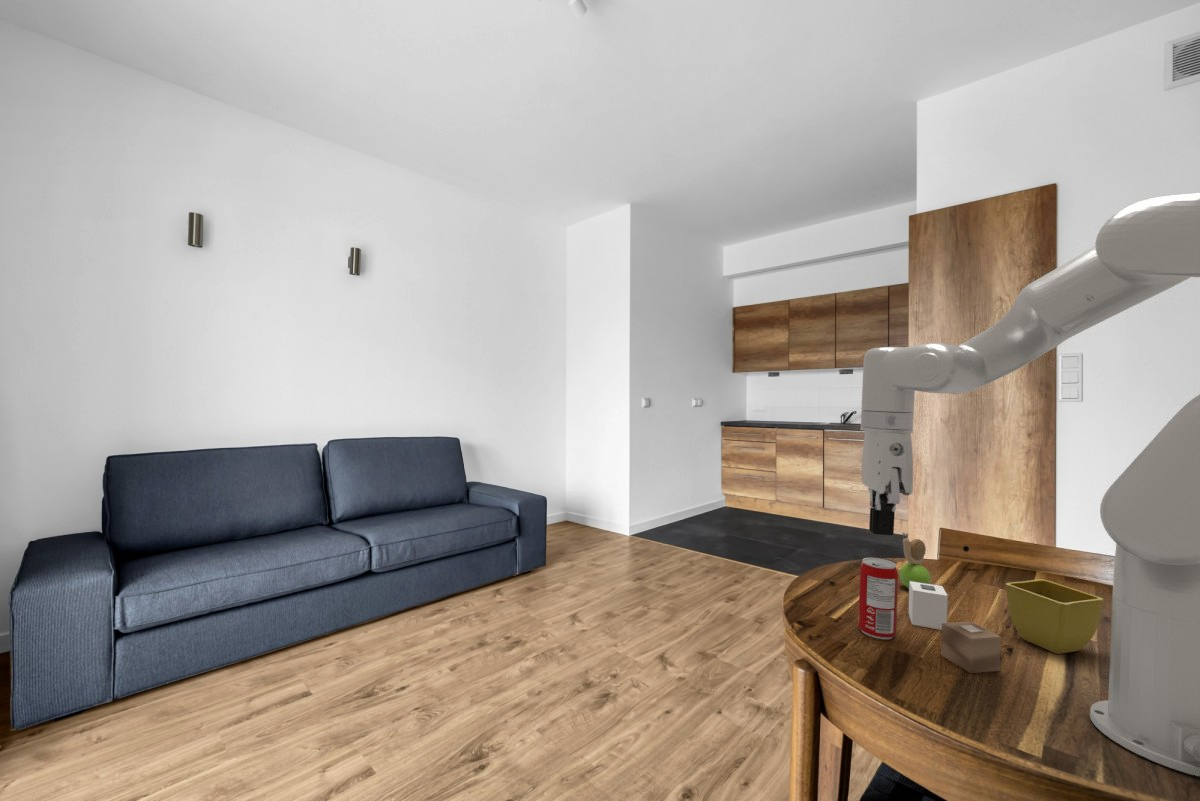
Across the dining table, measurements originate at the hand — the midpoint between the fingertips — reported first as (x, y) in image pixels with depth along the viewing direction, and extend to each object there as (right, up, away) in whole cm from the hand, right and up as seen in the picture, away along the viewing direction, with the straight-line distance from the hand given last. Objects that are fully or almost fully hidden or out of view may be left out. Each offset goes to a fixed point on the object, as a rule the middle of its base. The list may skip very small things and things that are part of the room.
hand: (881, 533), depth 84 cm
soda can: (-1, -17, 0) cm, 17 cm away
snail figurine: (+18, -17, +20) cm, 32 cm away
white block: (+11, -17, +5) cm, 21 cm away
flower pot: (+26, -18, -3) cm, 31 cm away
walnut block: (+8, -17, -9) cm, 21 cm away
